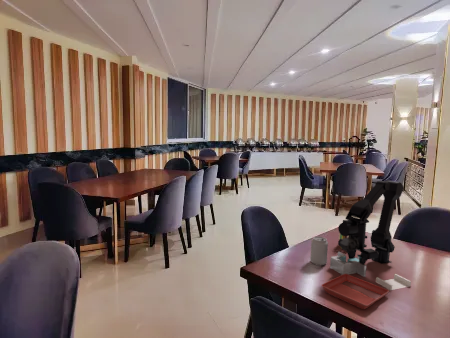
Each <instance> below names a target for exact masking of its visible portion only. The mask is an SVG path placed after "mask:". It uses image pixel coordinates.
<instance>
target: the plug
mask: <svg viewBox="0 0 450 338" xmlns="http://www.w3.org/2000/svg"><path fill="white" fill-rule="evenodd" d="M349 261H357V262H359V257H358V256H357V257H356V256H355V258H350V259H349V258H347V260H346V262H349Z"/></svg>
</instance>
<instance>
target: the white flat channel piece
mask: <svg viewBox="0 0 450 338" xmlns="http://www.w3.org/2000/svg"><path fill="white" fill-rule="evenodd" d="M375 283H377V284H378V285H379V286H380V285H381V287H382V288H384V289H387V290H389V291H394V290H398V289H404V288H407V287H412V286H411V285H412V281H411V280H410V279H407V278H405V277H404V276H401V275H399V274H397V273H395V274H394V275H393V278H391V279H386V280H384V279H382V278H380V277H378V276H377V277H376V278H375Z"/></svg>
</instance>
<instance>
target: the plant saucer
mask: <svg viewBox="0 0 450 338" xmlns="http://www.w3.org/2000/svg"><path fill="white" fill-rule="evenodd" d="M345 282H348V283H351V284H353V285H356V286H358V287H361V288H363V289H366V290H368V291H371V292H373V293H375V294H378V295H380V296H379V297H376V298H375V297H370V296H368V295H366V294H364V293H362V292H361V291H358V290H357V289H353V288H352V287H350V286H348V285H346V284H343V283H345ZM321 287H322V288H323V290H324V291H325V292H326V293H327V294H328V295H331V296H333V297H335V298H336V299H337V298H338V299H339V300H341V301H344V302H346V303H348V304H350V305H353V306H354V307H357V308H359V309H362V310H366V309H367V308H369V307H370V306H372V305H373V304H375V303H376V302H378V301H379V300H381V299H383V298H384V297H385V296H387V294H389V293H390V290H389V289H387V288H385V287H383V286H380V285H376V284H374V283H371V282H369V281H366V280H364V279H360V278H358V277H355V276H353V275H352V274H343V275H342V274H340V275H339V276H337V277H335V278H332V279H331V280H328V281H326V282H325V283H322V284H321Z"/></svg>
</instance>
